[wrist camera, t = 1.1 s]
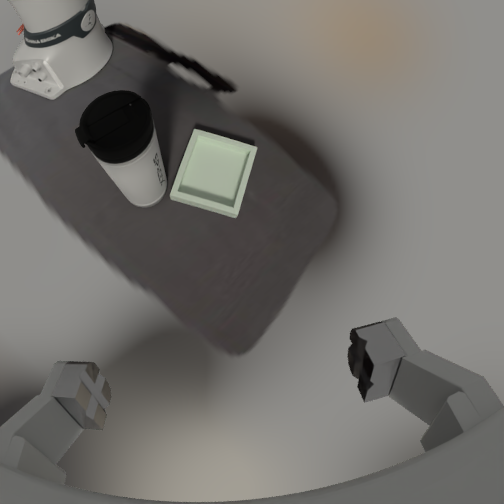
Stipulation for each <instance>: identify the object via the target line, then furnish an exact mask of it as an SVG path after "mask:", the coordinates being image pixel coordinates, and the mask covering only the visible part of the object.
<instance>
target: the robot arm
mask: <svg viewBox="0 0 504 504" xmlns="http://www.w3.org/2000/svg"><path fill="white" fill-rule="evenodd" d="M8 1H9V2H10V4H11V5H12V6H13V8H14V9H15V10H16V12H17V14H18V15H19V17H20V19H21V21H22V23H23V24H22V25H21V27H20V28H19V29H18V30H17V32H18V31H19V30H20V29H21V30H20V32H19V34H18V35H20V34H21V32H22V31H23V30H24V39H23V40H22V42H21V43H20V45H19V46H18V48H17V49H16V51H15V54H14V56H13V64H14V66H15V69H14V71H13V73H12V76H11V84H12V85H13V86H16V87H19V88H22V89H24V90H27V91H30V92H32V93H35V94H38V95H40V96H43V97H46V98H48V99H55V98H57V97H58V96H60V95H61V94H62V93H64V92H65V91H66V90H68V89H69V88H72V87H74V86H76V85H79V84H81V83H83V82H85V81H86V80H88V79H90V78H91V77H93V76H94V75H95V74H96V73H98V72H99V71H100V70H101V69H102V68H103V67H104V65H105V64H106V63H107V62H108V60H109V58H110V56H111V54H112V49H113V46H112V42H111V40H110V39H109V38H108V36H107V35H106V33H105V29H104V26H103V25H102V24H101V23H100V21H99V19H98V17H97V14H96V7H95V3H94V0H8ZM350 340H351V342H352V345H351V346H350V347H349V348H348V364H349V367H350V371H351V373H352V375H353V376H354V377H356V378H357V379H359V381H358V386H357V387H358V389H359V391H360V394H361V396H362V398H363V401H364V402H368V401H371V400H375V399H378V398H382V397H385V396H388V395H389V397H390V398H391V399H393V400H394V401H396V402H397V403H398V404H400V405H401V406H403V407H404V408H405V409H407V410H408V411H410V412H411V413H413V414H414V415H415V416H417V417H418V418H420V419H421V420H422V421H424V422H425V423H427V424H428V425H430V426H429V428H428V429H427V431H426V432H425V433H424V435H423V436H422V438H421V440H420V442H421V444H422V446H423V448H424V450H425V453H422V454H420V455H418V456H416V457H413V458H411V459H409V460H406V461H404V462H402V463H399V464H397V465H394V466H392V467H389V468H386V469H383V470H380V471H378V472H375V473H372V474H369V475H366V476H363V477H360V478H356V479H353V480H350V481H346V482H343V483H339V484H335V485H331V486H327V487H323V488H319V489H315V490H310V491H305V492H300V493H294V494H289V495H283V496H276V497H269V498H262V499H252V500H242V501H227V502H169V501H154V500H144V499H135V498H127V497H119V496H113V495H108V494H102V493H97V492H92V491H88V490H83V489H79V488H75V487H71V486H67V485H64V484H65V479H66V473H65V471H64V470H62V469H61V468H60V467H58V466H57V465H56V464H57V462H58V461H59V460H60V459H61V457H62V456H63V455H64V454H65V452H66V451H67V450H68V449H69V447H70V446H71V445H72V444H73V442H74V441H75V440H76V439H77V437H78V436H79V435H80V434H81V432H82V431H83V429H94V430H103V428H104V424H105V420H106V416H107V414H106V411H105V408H106V407H107V406H108V405H109V404H110V400H111V388H110V386H109V383H108V382H107V380H106V378H104V377H103V376H101V375H100V374H99V368H98V366H97V365H96V364H95V363H94V362H74V361H58V362H56V363H55V364H54V366H53V368H52V370H51V372H50V374H49V377H48V379H47V381H46V383H45V385H44V388H43V390H42V392H41V394H40V395H37V396H36V397H35V398H33V399H32V400H31V401H30V402H29V403H27V404H26V405H25V406H24V407H23V408H22V409H21V410H19V411H18V412H17V413H16V414H15V415H14V416H12V417H11V418H10V419H9V420H8V421H7V422H6V423H5V424H3V425H2V426H1V427H0V504H504V406H503V404H502V403H501V401H500V400H499V398H498V397H497V395H496V394H495V392H494V391H493V389H492V388H491V386H490V385H489V383H488V382H487V381H486V379H485V378H484V377H483V376H481V375H479V374H476V373H474V372H472V371H470V370H468V369H465V368H463V367H461V366H459V365H457V364H455V363H452V362H450V361H448V360H446V359H444V358H442V357H439V356H438V355H435V354H433V353H431V352H429V351H427V350H423V351H421V350H420V348H419V347H418V345H417V344H416V342H415V341H414V340H413V339H412V337H411V335H410V334H409V333H408V332H407V330H406V328H405V327H404V326H403V324H402V323H401V322H400V320H399V319H398V318H396V317H395V318H391V319H388V320H384V321H381V322H376V323H373V324H369V325H365V326H361V327H357V328H353V329H352V330H351V332H350Z"/></svg>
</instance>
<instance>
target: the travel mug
mask: <svg viewBox="0 0 504 504" xmlns="http://www.w3.org/2000/svg"><path fill="white" fill-rule="evenodd" d="M75 133H76V136H77V139H78V141H79V143H80V145H81V146H82V147H83V148H84V147H85V145H84V143H85V144H87V145H88V147H89V148H90V150H91V152H92V153H93V155H94V156H95V158H96V159H97V160H98V162H99V163H100V164H101V166H102V167H103V168H104V170H105V171H106V172H107V173H108V175H109V176H110V177H111V179H112V180H113V181H114V182H115V184H116V185H117V186H118V188H119V189H120V190H121V191H122V193H123V194H124V195H125V196H126V198H127V199H128V200H129V201H130V202H131V203H132V204H133V205H135V206H138V207H143V208H145V207H151V206H153V205H155V204H157V203H158V202H160V201H161V199H162V198H163V197H164V195H165V193H166V191H167V179H166V174H165V170H164V166H163V162H162V157H161V153H160V149H159V144H158V140H157V135H156V130H155V126H154V121H153V118H152V114H151V110H150V107H149V105H148V103H147V102H146V101H145V100H144V99H142V98H141V96H139V95H138V94H136V93H134V92H131V91H124V90H120V91H113V92H109V93H106V94H104V95H101V96H100V97H98V98H96V99H95V100H94V101H93V102H91V103H90V104H89V105H88V107H87V108H86V109H85V111H84V112H83V114H82V117H81V119H80V126H79V127H78V128H77V129H75Z"/></svg>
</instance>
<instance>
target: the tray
mask: <svg viewBox="0 0 504 504" xmlns="http://www.w3.org/2000/svg"><path fill="white" fill-rule="evenodd" d="M256 151H257V147H255V146H252V145H248V144H245V143H242V142H239V141H236V140H232V139H229V138H226V137H222V136H219V135H215V134H212V133H208V132H205V131H201V130H197V129H194V131H193V134H192V136H191V139H190V141H189V144H188V146H187V149H186V152H185V154H184V157H183V160H182V162H181V165H180V168H179V170H178V173H177V176H176V179H175V182H174V185H173V187H172V190H171V193H170V198H171V200H175V201H178V202H182V203H185V204H189V205H192V206H196V207H199V208H203V209H206V210H210V211H213V212H216V213H220V214H223V215H227V216H230V217H233V218H236V217H237V215H238V213H239V209H240V206H241V202H242V199H243V195H244V192H245V188H246V185H247V181H248V178H249V174H250V171H251V168H252V164H253V161H254V158H255V154H256Z"/></svg>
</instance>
